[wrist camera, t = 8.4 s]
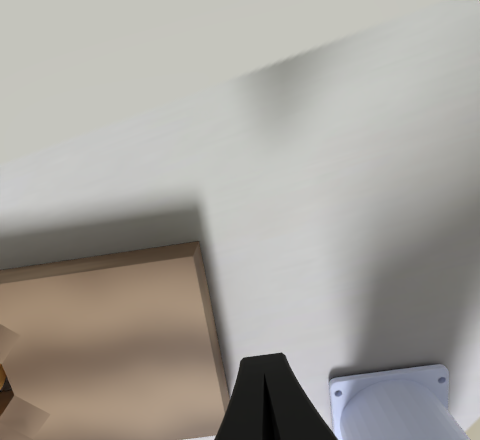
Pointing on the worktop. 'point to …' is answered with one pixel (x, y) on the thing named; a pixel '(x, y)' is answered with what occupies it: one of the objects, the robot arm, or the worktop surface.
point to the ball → (2, 376)
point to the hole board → (111, 348)
